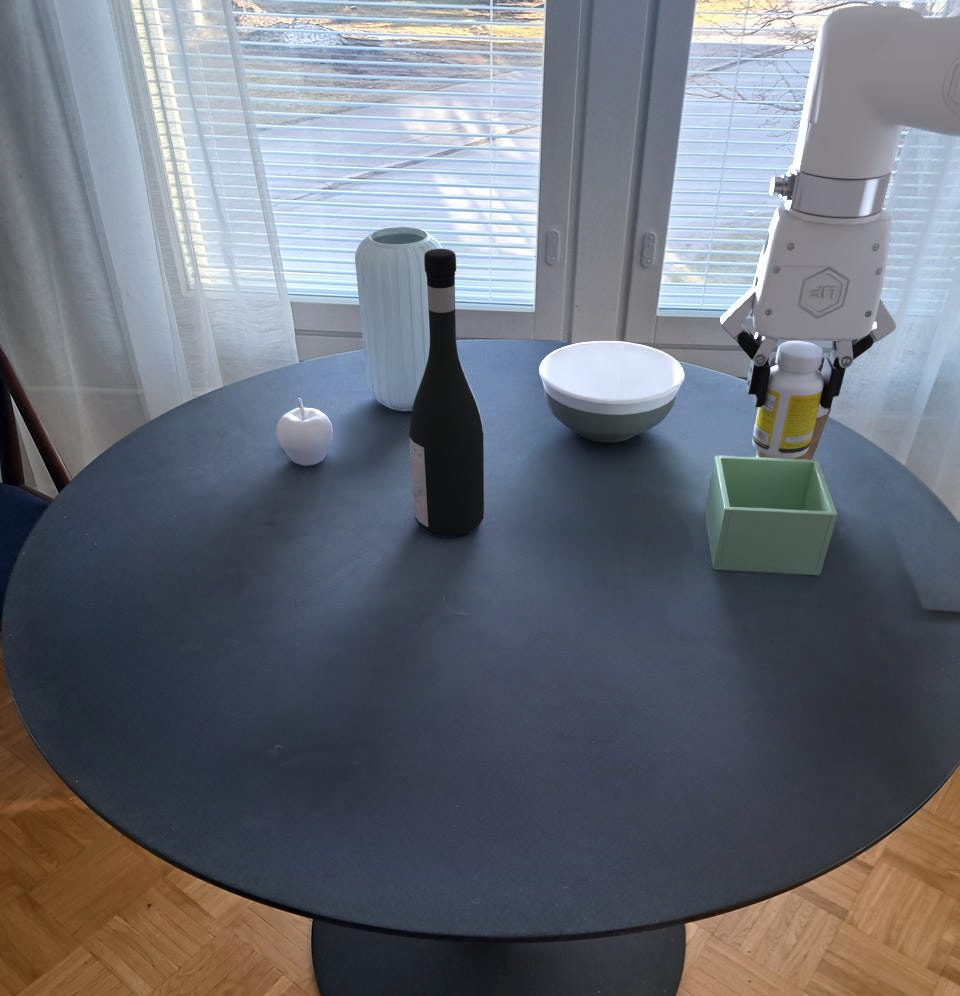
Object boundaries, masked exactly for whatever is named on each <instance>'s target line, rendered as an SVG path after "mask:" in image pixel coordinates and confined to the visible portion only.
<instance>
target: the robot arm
mask: <svg viewBox="0 0 960 996" xmlns="http://www.w3.org/2000/svg"><path fill="white" fill-rule="evenodd" d="M814 46H815V47H814V53H813V56H812V57H813V59H812V62H811V66H810V67H811V68H810V73H809V78H808V82H807V83H808V84H807V89H806V94H805V100H804V105H803V110H802V114H801V121H800V127H799V131H798V138H797V142H796V148H795V153H794V157H793V159H794V160H793V163H792V164H791V165H790V167H789V171H787V173H786V175H783V174H782V175H781V176H773V177H772V178H771V182H770V187H769V188H770V189H769V194H770V196H779V198H783V200H784V201H785V203H784V204H780V205H778V206H777V208H776V210H775V212H774V215H773V217H772V219H771V222H770V225H769V228H768V232H767V234H766V237H765V241H764V243H763V247H762V251H761V253H760V256H759V261H758V264H757V269H756V272H755V276H754V280H753V283H752V284H753V285H752V287H751V288H750V289H749V290H748V291H747V292H746V293H745V294H744V295H743V296H742V297H740V299H738V300H737V301H736V302H735V303H734V304H733V305H732V306H731V307H730V308H729V309H728V310H727V311H726V312H725V313H723V315H721V317H720V325H721V327H722V329H723V330H724V331H725V332H726V333H727V334H728V335H729V336H730V337H731V338H732V339H733V340H735V342H736V343H737V344H738V345H739V347H740V348H741V349H742V350H743V352H744V353H745V354H746V355H747V356H748V357H749V358H750V365H749V370H748V375H747V380H746V386H745V389H746V391H745V392H746V395H750V396H751V400H752V403H753V406H754V408H758V407H761V406H763V405H764V401H765V396H766V391H767V386H768V381H769V376H770V371H771V367H770V356H771V354H772V353H773V351H774V349H775V347H776V346H777V344H778V342H779V341H780V340H781V341H823V342H824V341H829V342H830V341H831V348H832V349H831V351H830V352H829V353H830V354H829V353H828V354H827V356H825V357H824V358H825V359H824V363H823V368H822V372H821V374H822V375H823V377H824V388H823V392H822V396H821V400H820V404H821V407H823V408H824V409H830V408H831V409H832V405H833V401H834V398H835V397H839V396H840V393H841V389H842V385H843V381H844V377H845V373H846V369H848V368H849V367H851V366H852V365H853V364H854V361H855V360H856V359H857V358H858V357H860V356H862V355H863V354H864V353H865V352H867V351H868V350H869V349H871V347H873V346H874V344H875V343H877V342H879V341H881V340H883V339H884V338H885V337H887V336H888V335H890V334H892V333H893V332H894V331H895V330H896V328H897V323H896V322H895V320H894V318H893V317H892V315H891V314H890V312H889V311H888V308H887V306H886V305H885V304H884V302H883V300H882V299H881V297H882V292H883V286H884V281H885V274H886V269H887V262H888V255H889V247H890V238H891V225H892V216H891V214H890V213H889V212H887V211H886V210H885V209H884V208H883V207H884V203H885V199H886V195H887V193H888V192H887V191H888V187H889V184H890V179H891V175H892V171H893V168H894V163H895V161H896V156H897V152H898V148H899V144H900V140H901V137H902V133H903V128H904V127H908V128H912V129H917V130H921V131H925V132H930V133H934V134H938V135H942V136H949V137H957V138H958V137H959V138H960V6H958V7H956V9H953V11H951V12H950V13H949V14H948V15H947V16H946V17H945V16H944V17H924V16H923V15H922V14H921V13H920V12H919V11H917V10H915V9H912V8H908V7H903V6H894V5H854V6H847V7H841V8H838V9H835V10H834V11H832V12H830V13H829V14H828V15H827V16H826V17H825V19H824V20H823V21H822V24H821V26H820V27H819V30H818V34H817V38H816V41H815V45H814ZM747 317H750V318H751V319H752V325H753V329H754V331H755V332H756V333H755V335H754V334H753V333H752V332H751V331H750V330H749V328H747V327H746V326H745V325H744V324H743V321H744V320H745V319H746V318H747ZM834 396H835V397H834Z"/></svg>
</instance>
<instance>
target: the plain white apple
mask: <svg viewBox="0 0 960 996" xmlns="http://www.w3.org/2000/svg"><path fill="white" fill-rule="evenodd" d="M297 404H298V407H295V408H294V409H292V410H289V411H287V412H286V413H284V414H283V415H282V417H281V418H280V419H278V422H277V425H276V429H275V430H276V431H275V432H276V433H275V434H276V438H277V441H278V443H279V445H280V447H281V448H282V449H283V451H284V452H285V453H286V455H287V456H288V457H289V458H290V460H291V461H292V462H293V463H295V464H296V465H297V464H298V465H300V466H313V465H314V466H315V465H317V464H319V463H321V462H322V461H324V460H325V458H326V457H327V455H328V452H329V451H330V447H331V444H332V441H333V437H334V428H333V424H332V422H331V420H330V419H329V417H328V416H327V415H326V414H325V413H323V412H322V411H320V410H319V409H317V408H309V407H304V405H303V401H302V398H301V397H297Z"/></svg>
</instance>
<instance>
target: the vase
mask: <svg viewBox="0 0 960 996" xmlns="http://www.w3.org/2000/svg"><path fill="white" fill-rule="evenodd" d="M432 249H443V246H442V245H441V243H440V241H438V239H437V238H436V237H434V236H433V235H431V234H430V233H429V232H428V231H426V230H424V229H423V228H419V227H416V226H408V225H407V226H405V225H404V226H403V225H402V226H401V225H399V226H398V225H397V226H387V227H381V228H379V229H376V230H374V231H371V232H370V233H369V234H368V235H367V236H366V237H364V238H363V240H361V242H360V243H359V244H358V246H357V248H356V251H355V254H354V263H355V264H354V265H355V272H356V273H355V275H356V282H357V283H356V284H357V294H358V305H359V306H358V307H359V317H360V326H361V337H362V349H363V358H364V359H363V360H364V369H365V379H366V386H367V390H368V392H369V393H370V395H371V396H372V398H374V400H375V401H376V402H378V403H379V404H382V405H383V406H384V407H386V408H388V409H391V410H395V411H400V412H412V408H413V404H414V400H415V397H416V395H417V392H418V389H419V386H420V383H421V381H422V378H423V375H424V372H425V368H426V365H427V361H428V356H429V348H430V329H429V308H428V290H427V276H426V272H425V266H424V255H425V253H426V252H427V251H429V250H432Z"/></svg>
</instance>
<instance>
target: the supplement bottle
mask: <svg viewBox="0 0 960 996" xmlns="http://www.w3.org/2000/svg"><path fill="white" fill-rule="evenodd" d="M824 354H825V353H824V349H823V348H822V347H821V346H820V345H818V344H816V343H813V342H809V341H805V340H788V341H785V342H783V343H780V344H779V345H778V347H777V351H776V355H775V357H776V364H777V365H775V366H773V367H772V368H771V371H770V376H769V381H768V386H767V391H766V396H765V401H764V405H763V406H761V407H757V408H758V409H757V413H756V416H755V417H756V418H755V422H754V428H753V434H752V440H751V441H752V446H753V448H754V449H755V450H756V451H757V450H758V451H759V452H760V453H762V454H765V455H767V456H771V457H776V458H796V457H799V456H802V455H803V454H805V453H806V452H807V451H808V449H809V446H810V442H811V438H812V434H813V430H814V426H815V422H816V417H817V413H818V409H819V405H820V400H821V396H822V392H823V388H824V377H823V375H822V374H821V372H820V371H818V369H819V368H820V365H821V364H822V358H823V357H824Z"/></svg>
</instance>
